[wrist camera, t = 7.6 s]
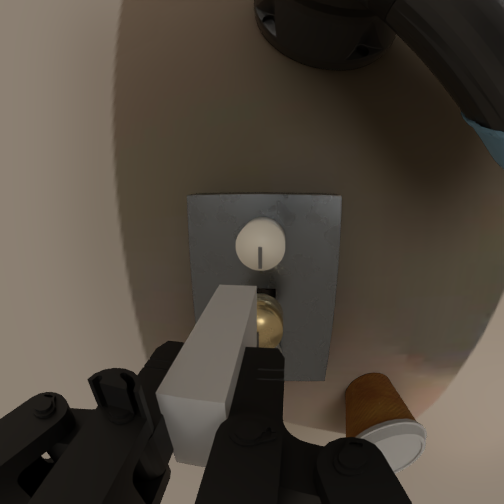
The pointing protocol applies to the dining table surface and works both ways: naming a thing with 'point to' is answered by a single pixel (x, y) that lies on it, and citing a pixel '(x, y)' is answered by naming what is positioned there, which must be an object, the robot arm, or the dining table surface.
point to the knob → (261, 244)
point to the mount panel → (283, 274)
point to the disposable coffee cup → (383, 420)
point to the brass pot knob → (269, 321)
